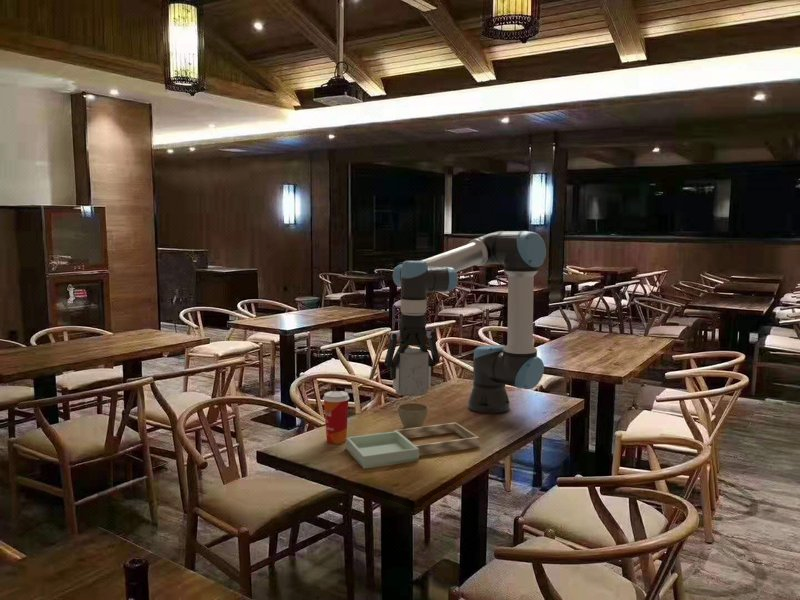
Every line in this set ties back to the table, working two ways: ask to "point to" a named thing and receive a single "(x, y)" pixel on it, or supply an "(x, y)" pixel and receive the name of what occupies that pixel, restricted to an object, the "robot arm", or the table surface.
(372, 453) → the bin
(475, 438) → the corral
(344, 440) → the coffee cup
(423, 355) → the speckled stone pillar
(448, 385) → the table surface
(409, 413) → the flower pot
